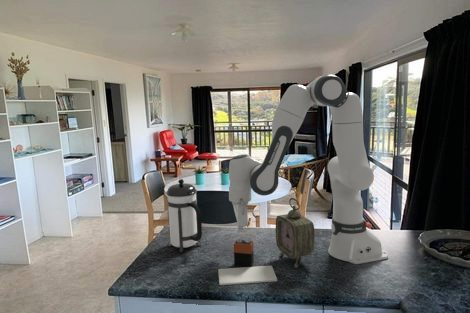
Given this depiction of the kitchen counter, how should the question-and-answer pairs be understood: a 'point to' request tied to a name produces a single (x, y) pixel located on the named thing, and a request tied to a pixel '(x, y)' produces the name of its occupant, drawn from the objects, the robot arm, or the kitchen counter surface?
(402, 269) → the kitchen counter surface
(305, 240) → the tabletop clock
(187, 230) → the coffee press
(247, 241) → the battery
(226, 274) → the mat
